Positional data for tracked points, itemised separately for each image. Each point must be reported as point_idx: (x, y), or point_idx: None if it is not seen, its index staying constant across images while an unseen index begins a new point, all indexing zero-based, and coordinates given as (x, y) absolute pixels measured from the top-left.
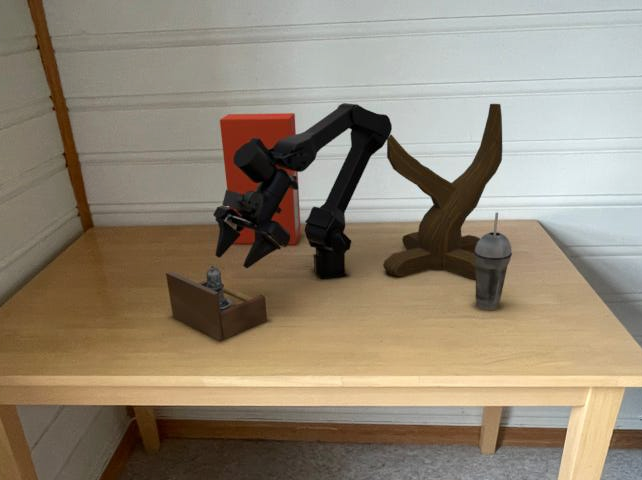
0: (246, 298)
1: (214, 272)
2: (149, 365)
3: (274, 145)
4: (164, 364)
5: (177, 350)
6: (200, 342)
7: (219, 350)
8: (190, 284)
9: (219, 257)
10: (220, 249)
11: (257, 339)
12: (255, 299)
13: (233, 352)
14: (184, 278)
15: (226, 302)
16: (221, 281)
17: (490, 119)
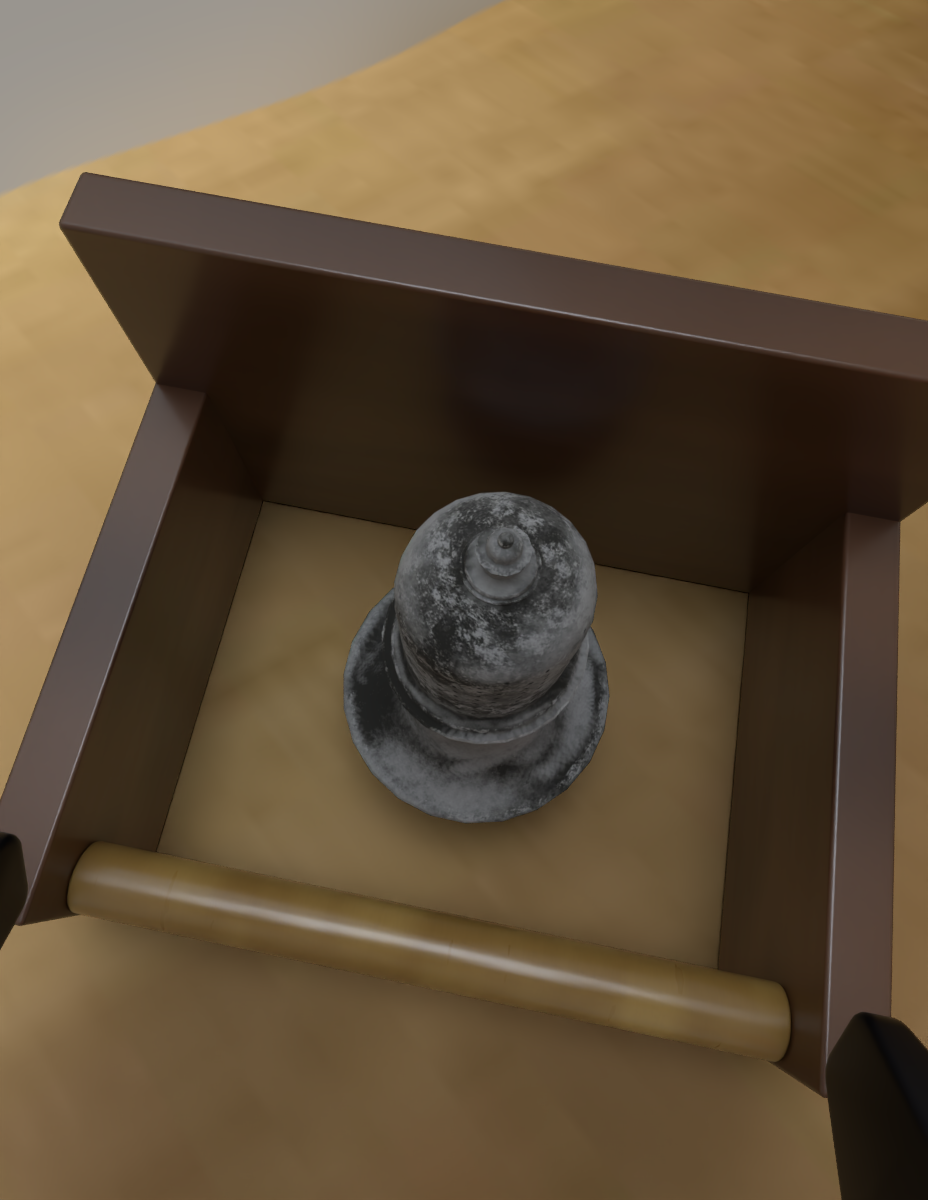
0: (250, 883)
1: (428, 529)
2: (413, 112)
3: None
4: (350, 149)
5: None
6: None
7: None
8: (523, 253)
9: (827, 1070)
10: (910, 1179)
11: (8, 607)
12: (23, 785)
13: (67, 403)
14: (714, 323)
15: (382, 712)
16: (413, 670)
17: None
